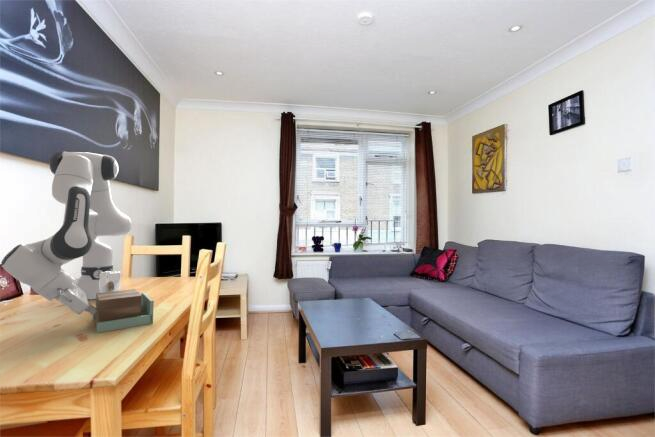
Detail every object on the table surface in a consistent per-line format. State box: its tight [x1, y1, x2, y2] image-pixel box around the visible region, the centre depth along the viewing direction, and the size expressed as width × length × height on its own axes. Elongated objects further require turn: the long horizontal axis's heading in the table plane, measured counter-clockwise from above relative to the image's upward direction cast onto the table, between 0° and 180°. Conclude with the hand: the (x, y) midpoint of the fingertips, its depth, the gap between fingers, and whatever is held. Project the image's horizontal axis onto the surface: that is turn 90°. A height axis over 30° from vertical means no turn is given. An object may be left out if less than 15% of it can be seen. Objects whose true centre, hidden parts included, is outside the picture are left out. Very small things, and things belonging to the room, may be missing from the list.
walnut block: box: [94, 288, 142, 326], centre depth 110 cm, size 12×12×10 cm
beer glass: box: [99, 270, 121, 293], centre depth 124 cm, size 7×7×15 cm
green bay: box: [92, 291, 154, 334], centre depth 111 cm, size 16×16×8 cm
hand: (94, 311), depth 105 cm, fingers closed
